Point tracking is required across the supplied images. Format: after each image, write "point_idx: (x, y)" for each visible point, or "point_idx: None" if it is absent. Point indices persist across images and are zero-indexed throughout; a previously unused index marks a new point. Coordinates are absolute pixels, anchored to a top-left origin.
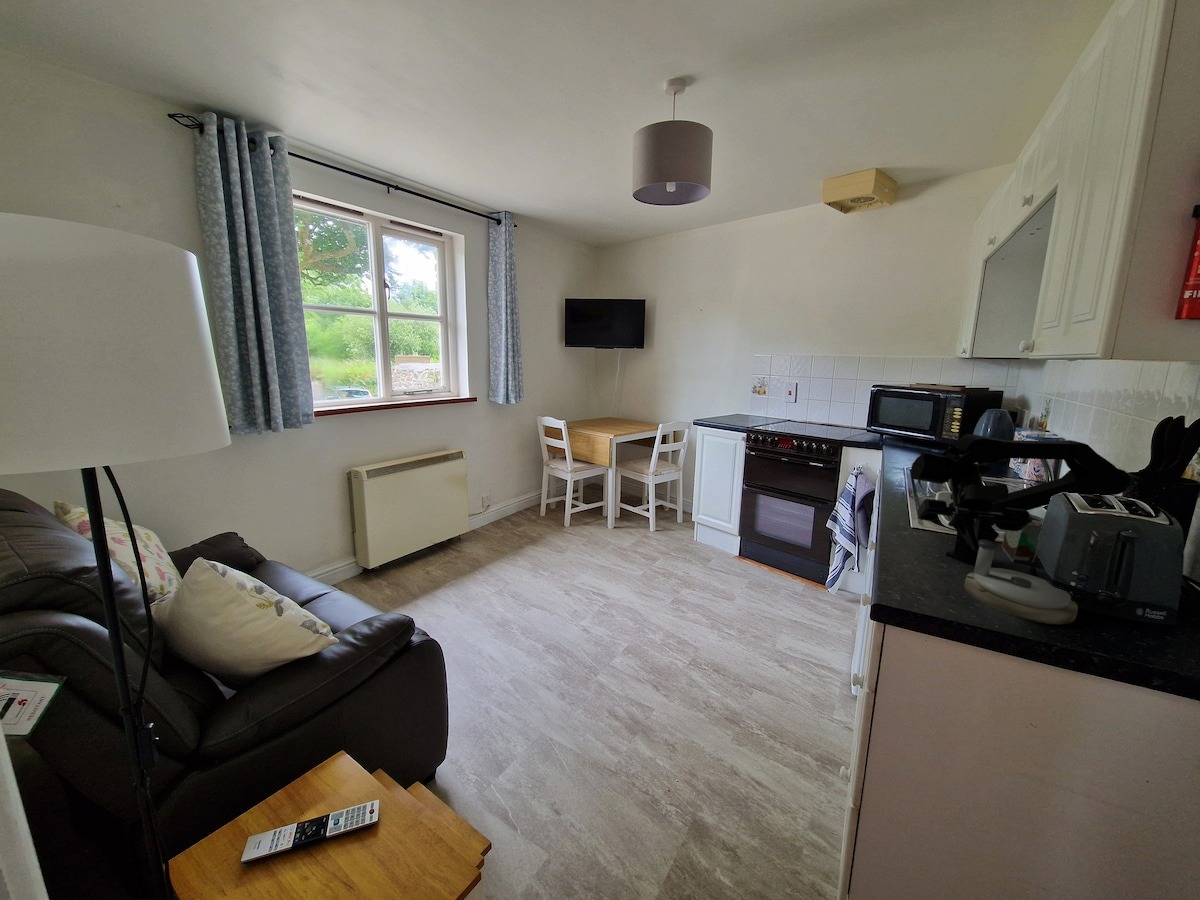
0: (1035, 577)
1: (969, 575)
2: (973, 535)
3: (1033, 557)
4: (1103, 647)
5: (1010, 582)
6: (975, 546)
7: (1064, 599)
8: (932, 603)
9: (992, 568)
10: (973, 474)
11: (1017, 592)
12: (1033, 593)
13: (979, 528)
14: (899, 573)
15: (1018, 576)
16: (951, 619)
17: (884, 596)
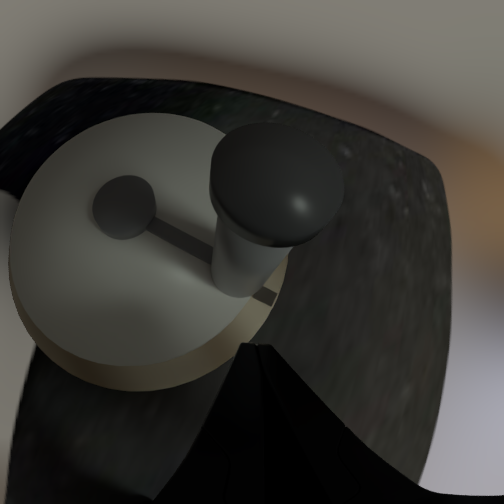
0: (26, 294)
1: (259, 315)
2: (305, 414)
3: None
4: (112, 97)
5: (158, 212)
6: (273, 350)
7: (72, 144)
8: (375, 173)
9: (151, 352)
10: None
11: (188, 144)
12: (136, 152)
13: (256, 492)
14: (426, 322)
15: (83, 285)
16: (349, 126)
17: (440, 188)
